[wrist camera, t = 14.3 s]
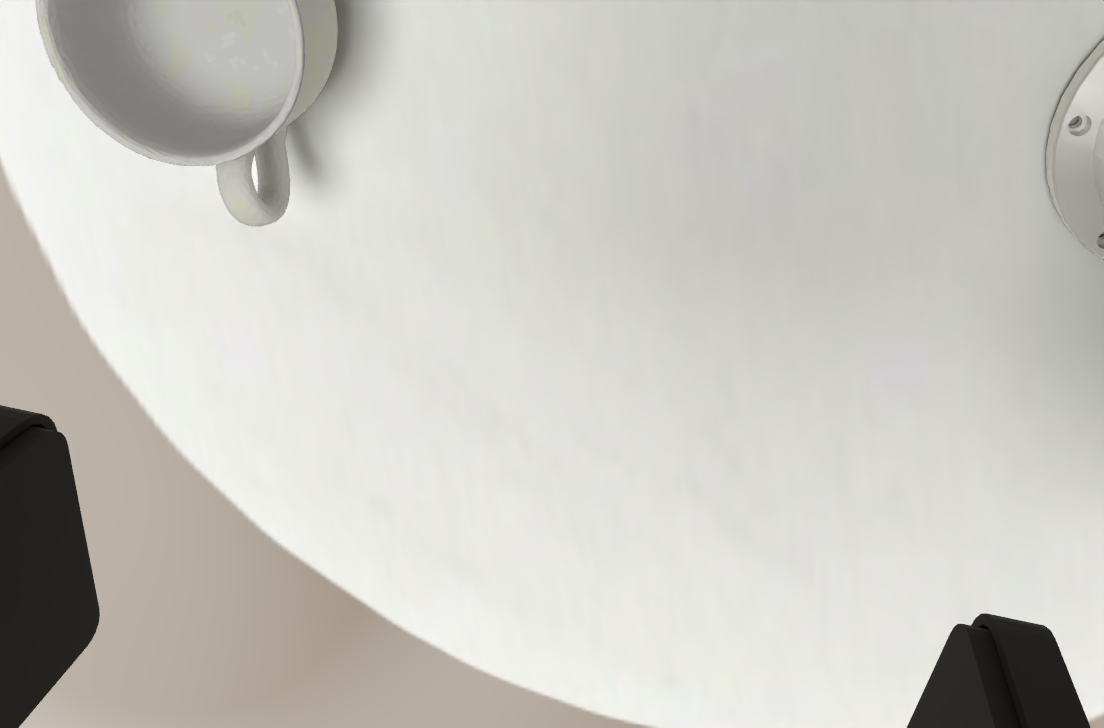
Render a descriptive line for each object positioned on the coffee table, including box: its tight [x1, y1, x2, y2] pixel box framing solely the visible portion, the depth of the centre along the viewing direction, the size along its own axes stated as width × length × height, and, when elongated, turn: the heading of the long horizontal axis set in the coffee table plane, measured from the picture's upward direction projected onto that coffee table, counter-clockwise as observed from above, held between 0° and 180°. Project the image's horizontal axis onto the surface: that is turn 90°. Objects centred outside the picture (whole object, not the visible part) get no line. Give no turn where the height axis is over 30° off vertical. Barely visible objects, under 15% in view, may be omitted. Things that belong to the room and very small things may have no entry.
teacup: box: [36, 0, 338, 226], centre depth 40 cm, size 14×11×8 cm
